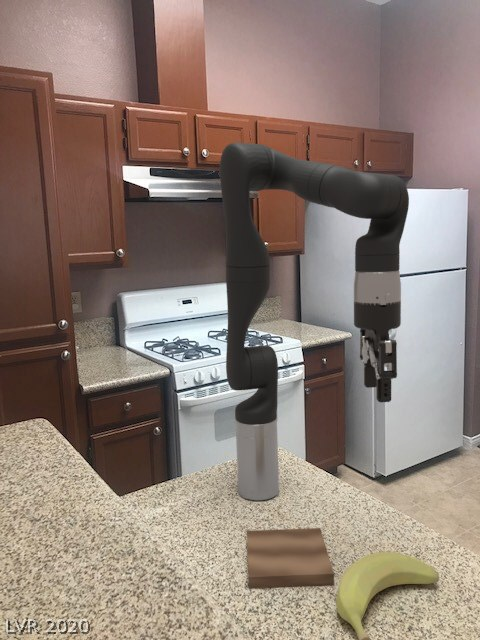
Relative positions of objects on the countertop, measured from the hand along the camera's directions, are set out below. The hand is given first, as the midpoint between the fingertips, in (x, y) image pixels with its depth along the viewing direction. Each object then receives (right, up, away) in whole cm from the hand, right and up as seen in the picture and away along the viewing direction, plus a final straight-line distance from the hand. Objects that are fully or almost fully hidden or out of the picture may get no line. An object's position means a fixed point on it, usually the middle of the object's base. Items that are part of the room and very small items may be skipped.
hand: (376, 393), depth 89 cm
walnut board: (-15, -30, +4) cm, 34 cm away
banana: (+4, -27, 0) cm, 28 cm away
